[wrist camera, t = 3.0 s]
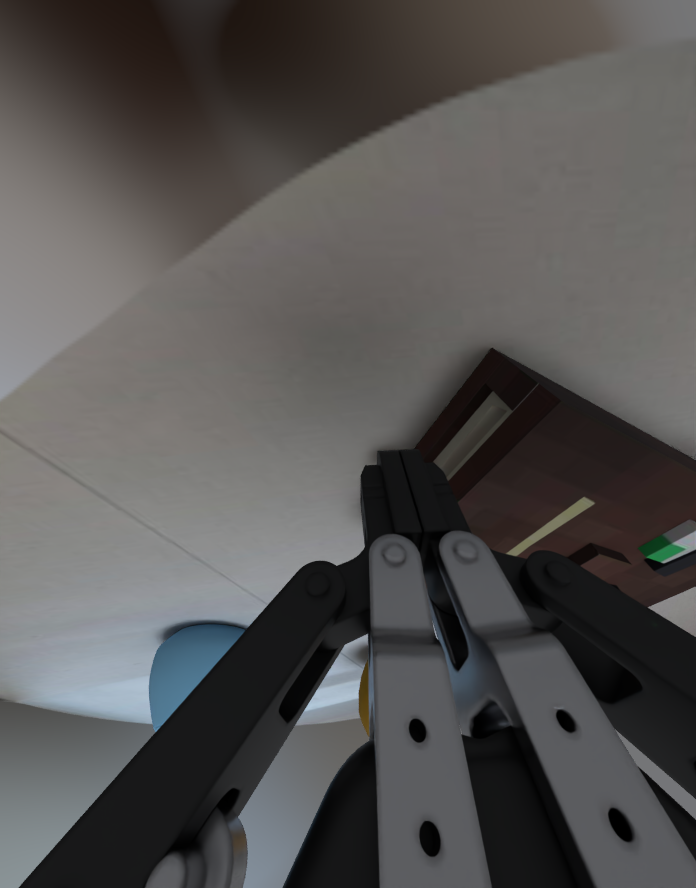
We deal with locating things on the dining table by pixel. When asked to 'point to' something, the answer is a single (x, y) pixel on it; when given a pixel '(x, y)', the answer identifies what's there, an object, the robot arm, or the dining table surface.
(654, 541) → the decorative book
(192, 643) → the sugar bowl
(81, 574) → the dining table surface
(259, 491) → the dining table surface
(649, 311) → the dining table surface
